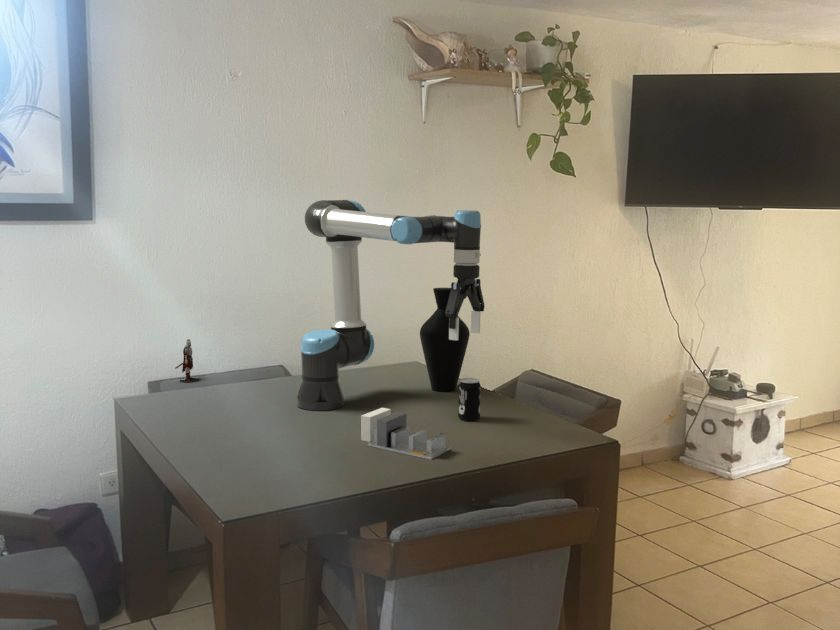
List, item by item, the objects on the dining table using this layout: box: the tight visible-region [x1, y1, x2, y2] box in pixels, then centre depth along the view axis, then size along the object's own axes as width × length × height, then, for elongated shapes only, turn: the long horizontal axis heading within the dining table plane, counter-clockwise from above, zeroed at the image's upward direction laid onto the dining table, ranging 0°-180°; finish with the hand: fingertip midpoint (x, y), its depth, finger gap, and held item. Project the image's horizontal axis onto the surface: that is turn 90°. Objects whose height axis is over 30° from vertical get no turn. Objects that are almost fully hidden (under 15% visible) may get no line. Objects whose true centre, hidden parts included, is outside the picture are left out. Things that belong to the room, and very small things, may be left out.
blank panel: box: [360, 407, 392, 443], centre depth 222 cm, size 3×10×7 cm, turn 148°
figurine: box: [174, 339, 200, 384], centre depth 283 cm, size 7×7×15 cm
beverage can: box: [457, 377, 482, 422], centre depth 239 cm, size 7×7×12 cm
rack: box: [367, 411, 452, 460], centre depth 212 cm, size 20×10×8 cm, turn 58°
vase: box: [419, 287, 471, 393], centre depth 273 cm, size 17×17×35 cm
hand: (464, 336), depth 233 cm, fingers open, 13 cm apart
